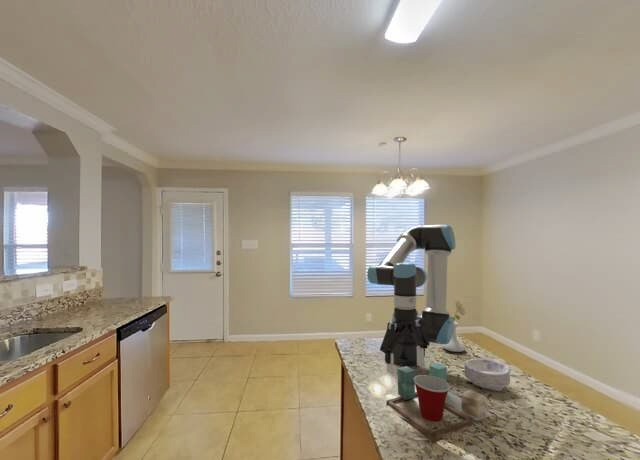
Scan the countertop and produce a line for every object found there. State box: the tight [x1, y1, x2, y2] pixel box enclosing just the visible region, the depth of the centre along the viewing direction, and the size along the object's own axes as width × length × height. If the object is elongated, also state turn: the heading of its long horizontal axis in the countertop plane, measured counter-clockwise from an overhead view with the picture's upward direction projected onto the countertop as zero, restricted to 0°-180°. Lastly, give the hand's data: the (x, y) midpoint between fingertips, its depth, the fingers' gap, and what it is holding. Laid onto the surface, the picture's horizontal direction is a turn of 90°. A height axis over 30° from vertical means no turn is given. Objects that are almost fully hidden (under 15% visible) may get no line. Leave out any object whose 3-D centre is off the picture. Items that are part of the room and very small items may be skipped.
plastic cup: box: [414, 374, 451, 423], centre depth 93 cm, size 11×11×12 cm
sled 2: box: [429, 362, 492, 422], centre depth 100 cm, size 20×7×10 cm, turn 26°
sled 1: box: [385, 365, 475, 444], centre depth 95 cm, size 22×16×11 cm
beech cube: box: [460, 389, 486, 417], centre depth 95 cm, size 5×5×5 cm
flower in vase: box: [441, 300, 466, 353], centre depth 154 cm, size 13×11×25 cm
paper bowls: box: [464, 358, 511, 392], centre depth 115 cm, size 15×15×8 cm
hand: (405, 369), depth 103 cm, fingers open, 13 cm apart
